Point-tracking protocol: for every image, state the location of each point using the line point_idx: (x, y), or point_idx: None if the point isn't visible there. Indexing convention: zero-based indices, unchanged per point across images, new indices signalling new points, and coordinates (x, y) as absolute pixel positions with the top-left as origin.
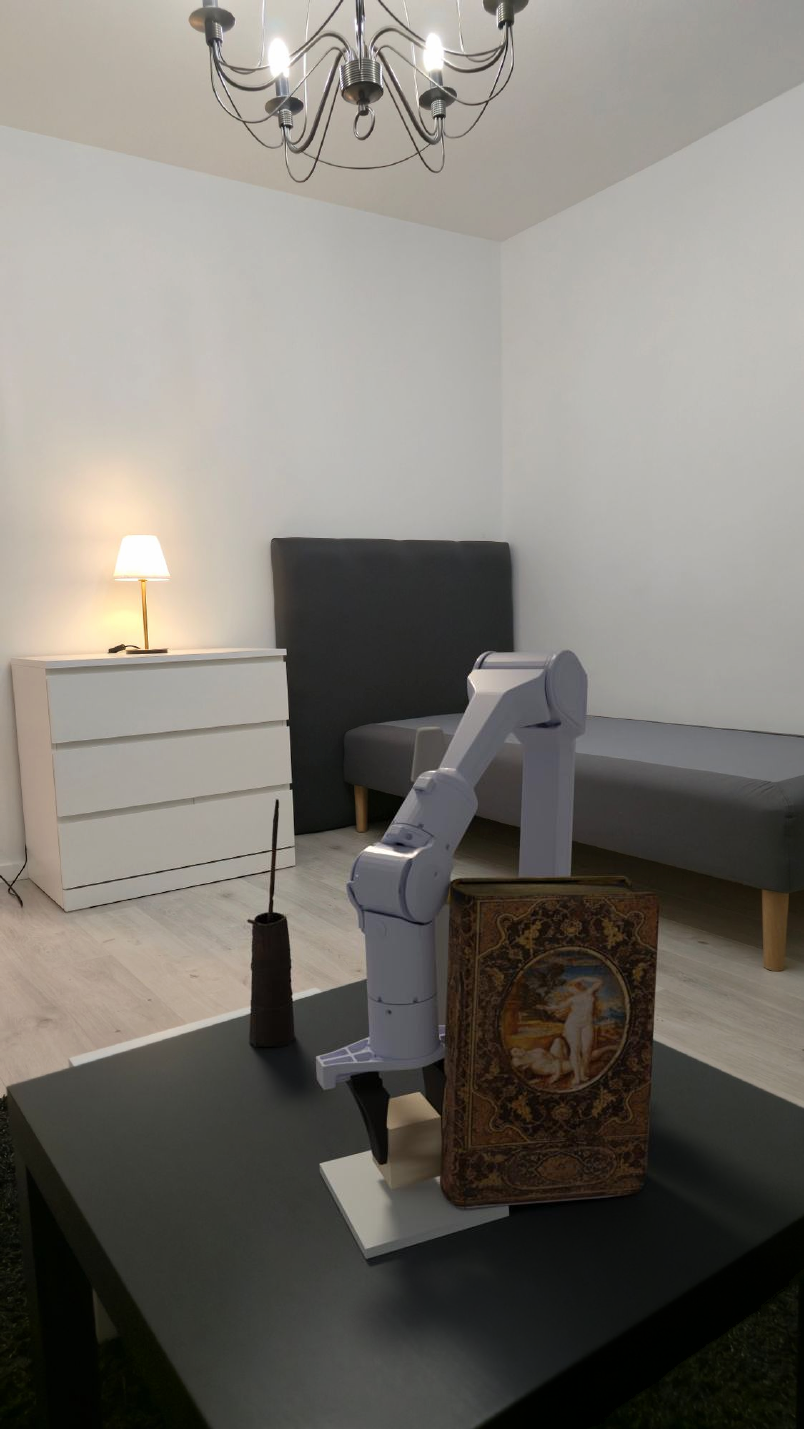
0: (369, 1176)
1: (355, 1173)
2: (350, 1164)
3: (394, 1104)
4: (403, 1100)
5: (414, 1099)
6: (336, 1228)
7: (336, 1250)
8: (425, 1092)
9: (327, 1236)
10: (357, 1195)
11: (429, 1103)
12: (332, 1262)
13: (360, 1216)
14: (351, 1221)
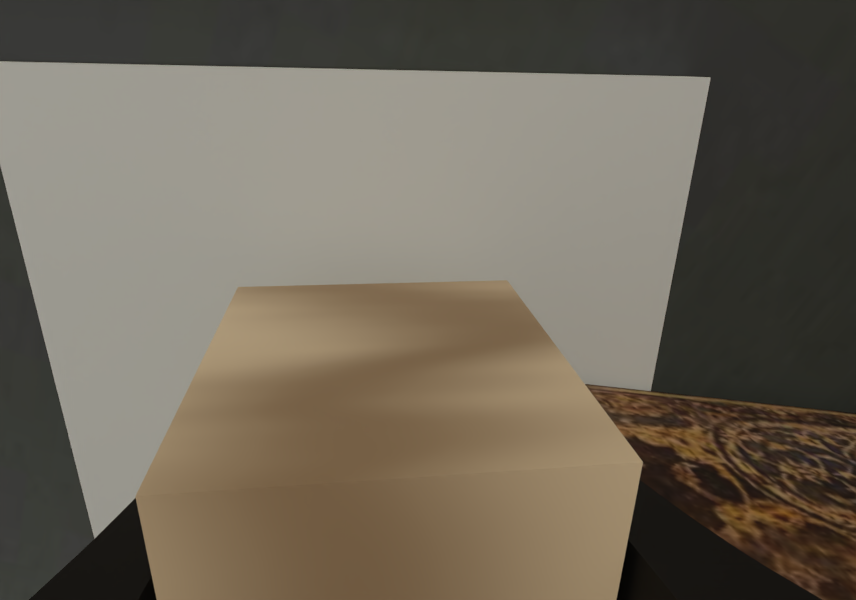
0: (226, 278)
1: (165, 231)
2: (153, 149)
3: (356, 567)
4: (453, 536)
5: (543, 548)
6: (48, 450)
7: (36, 541)
8: (656, 587)
9: (8, 476)
10: (143, 379)
11: (617, 598)
12: (16, 581)
13: (130, 493)
14: (89, 508)
